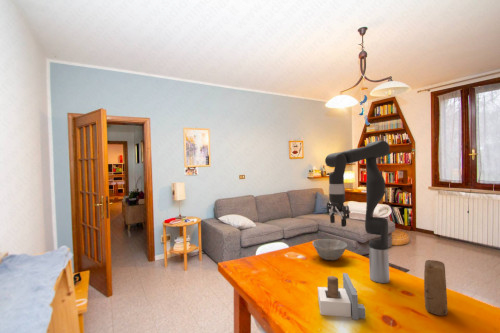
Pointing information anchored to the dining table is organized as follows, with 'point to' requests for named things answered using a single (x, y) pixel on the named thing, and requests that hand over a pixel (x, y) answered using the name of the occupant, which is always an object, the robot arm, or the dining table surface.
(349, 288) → the backstop
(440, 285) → the block
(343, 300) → the socket
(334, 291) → the dowel
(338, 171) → the robot arm
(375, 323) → the dining table surface
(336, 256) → the ceramic bowl
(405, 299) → the dining table surface
